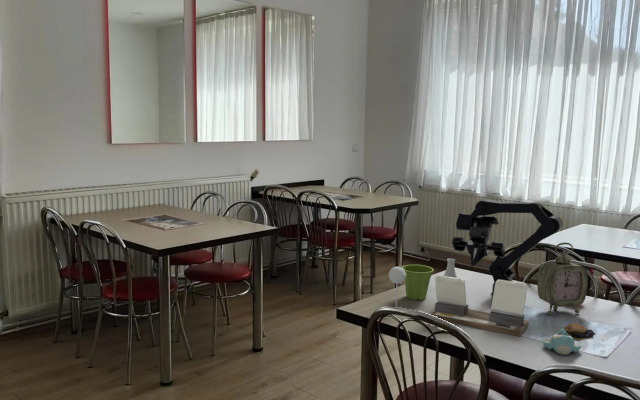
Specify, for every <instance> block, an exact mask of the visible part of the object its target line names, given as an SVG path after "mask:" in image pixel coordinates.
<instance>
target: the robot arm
mask: <svg viewBox="0 0 640 400" xmlns="http://www.w3.org/2000/svg"><path fill="white" fill-rule="evenodd" d="M502 213H504V214H505V213H506V214H531V215H533V217H534V218H535V219H536V220H537V222H538V223H539V224H540V225H539V227H538V228H537V229H536V230H535V231H534V232H533V233H532V235H529V237H528V238H526V239H525V240H524V241H523V242H522V243H520V244H519V245H518V246H517V247H515V248H514V249H513V250H512V251H511V252H509V253H508V254H507V255H505V252H506V250H505V246H504V243H503V242H501V241H492V242H491V244H488V242H489V241H490V235H491V232H492V228H493V226H494V225H499V224H500V223H499V220H498V218H497V217H496V214H502ZM490 215H493V216H490ZM455 223H456V224H455V226H456V230H457V231H463V232H465V231H466V232H468V236H469V240H467V241H465V237H461V236H459V237H458V236H454V237H453V238H452V240H451V244H452V246H453V249H454V250H455V251H459V252H463V251H464V252H465V251H466V250H467V253H468V254H469V255H470V264H471V267H474V266H476V265H477V264H478V262H480V260H482V259H484V258H485V257H488V256H489V251H493V255H494V256H495V257H497V258H494V260H492V261H490V264H489V267H488V271H489V273H490V275H491V276H492V279H493V283H492V289H491V290H492V292H490V295H492V296H493V294H494V288H495V282H496V281H497V280H505V281H512V282H514V280H513V279H514V277H515V273H514V272H513V271H512V269H511V268H512V267H513V266H514V264H515V263H516V262H517V261H519V259H520V258H522V257H523V256H525V254H527V253H528V252H530V250H532V249H533V248H534V247H535V246H537V245H538V244H539V243H540V242H542V241H543V240H545V239H546V238H547V239H548V238H549V237H551V236H553V235H555V234H557V233H558V232H559V231H561V229H562V228H563V227H564V221H563V219H562V218H561V216H558V215H555V214H554V213H553V212H552V211H550V210H549V209H548V208H546V207H545V206H543V205H542V204H541V202H539V201H534V202H533V201H532V202H531V201H528V202H524V201H523V202H521V201H519V202H518V201H517V202H515V201H514V202H513V201H512V202H511V201H505V202H504V201H499V200H495V199H490V198H487V199H486V198H484V199H481V200H479V201H478V202H477V203H475V206H474V210H473V211H472V213H464V212H460V213H458V217H457V220H456V222H455Z"/></svg>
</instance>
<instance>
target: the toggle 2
mask: <svg viewBox="0 0 640 400" xmlns="http://www.w3.org/2000/svg"><path fill="white" fill-rule="evenodd" d="M512 281H513V280H512ZM512 281H505V280H497V281H496V282H495V288H494V294H493V295H492V301H491V307H490V310H491V311H492V310H498V311H503V312H509V313H514V314H519V315H524V312H525V305H526V301H527V293H528V285H527V284H526V283H524V282H518V281H513V282H512Z"/></svg>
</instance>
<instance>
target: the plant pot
mask: <svg viewBox="0 0 640 400" xmlns="http://www.w3.org/2000/svg"><path fill="white" fill-rule="evenodd" d="M401 268H403V269H404V271H405V273H406V277H405V280H404V283H405V284H404V285H405V293H406V294H405V295H406V297H407V299H410V300H413V301H417V300H419V301H422V300H425V299H426V298H427V295H428V290H429V287H430V286H429V285H430V281H431V278H432V274H433V272H434V268H433V267H431V266H427V265H423V264H406V265H402V267H401Z"/></svg>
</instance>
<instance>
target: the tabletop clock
mask: <svg viewBox="0 0 640 400" xmlns="http://www.w3.org/2000/svg"><path fill="white" fill-rule="evenodd" d="M563 245H566V246H567V245H569V246H570V247H571V250H569V251H567V252H566V250H562V251H561V252H559V251H558V250H557V249H558V247H560V246H563ZM554 251H555V253H556V254H558V255H557V256H556V258H555V260H553V261H546V262H544V263H541V264H540V266H539V268H538V273H537V274H538V275H537V294H538V298H539V299H540V300H542V301H543V302H546V303H548V304H549V310H547V312H546V313H547V315H549V316H551V315H553V311H552V309H553V310H554V311H557V310H558V309H559V307H562V308H563V307H566V308H568V307H573V308H574V312H575V314H580V309H579V308H577V306H580V305H583V304H584V302H585V300H586V297H587V293H588V292H587V291H588V284H589V283H588V282H589V279H588V278H589V276H588V275H589V274H588V270H587V267H584V266H582V265H579V264H578V263H574V262H572V260H571V258H570V257H569V256H568V255H569V254H571V253H572V252H573V251H574V246H573V244H571V243H570V242H560V243H558V244H557V245H556V246H555V248H554Z"/></svg>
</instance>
